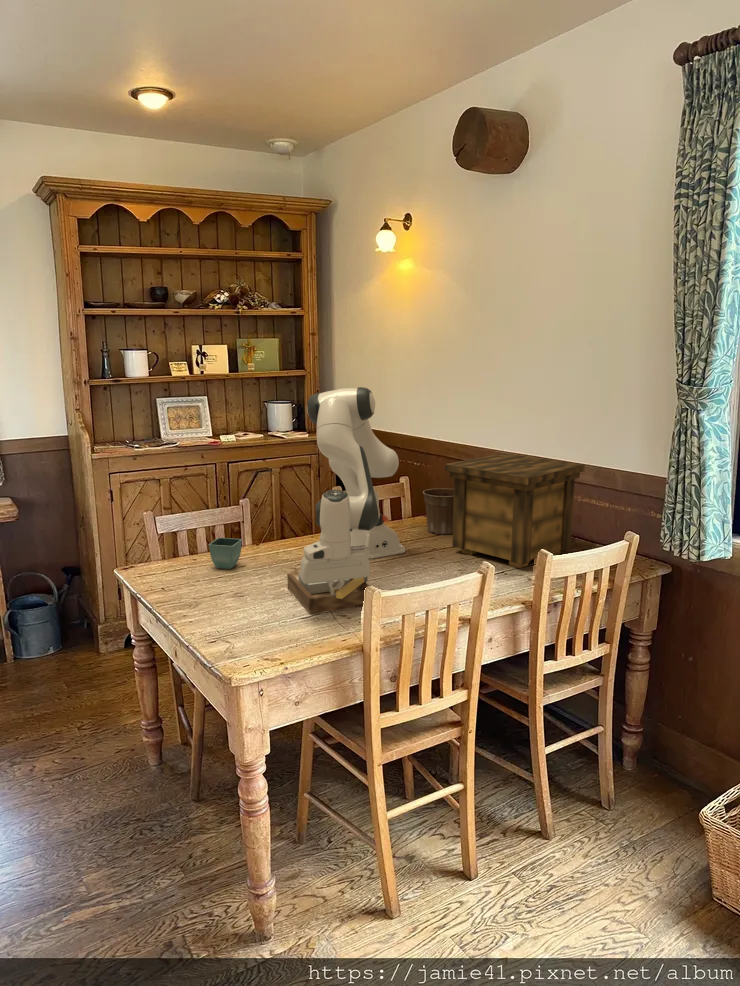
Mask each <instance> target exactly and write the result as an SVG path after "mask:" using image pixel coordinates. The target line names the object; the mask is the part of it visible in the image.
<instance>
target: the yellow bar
mask: <svg viewBox="0 0 740 986" xmlns="http://www.w3.org/2000/svg"><path fill="white" fill-rule="evenodd" d="M368 577H369V576H368ZM368 577H363V578H355V579H353V580H352V581H351V582H349V583H348V584H347V585H345V586H344V587H342V588H341V589H340V590H338V591H337V592H336V598H339V599H343V598H344V597H345V596H347V595H348V594H349V593H350V592H352V591H353V590H354V589H356V588H357V587H358V586H360V585H361V584H362V583H364V582H366V583H367V582H368Z"/></svg>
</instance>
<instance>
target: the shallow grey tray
mask: <svg viewBox="0 0 740 986" xmlns="http://www.w3.org/2000/svg"><path fill="white" fill-rule="evenodd" d="M298 581H299V582H300V583H301V584H302V585H303V586H304V587H305V588H306V590H307V591H308V592H309V593H310V594H315V593H322V592H330V587H329V586H328V584H327V582H320V583H311V584H305V583H304V582H302V580H301V579H300V573H298ZM338 583H339V582H338V580H337V581H333V584H331V585H332V586H333V588H334V587H337V585H338ZM348 583H349V579H346V580H344V585H343V586H342V587H344V586H345V585H347V584H348Z"/></svg>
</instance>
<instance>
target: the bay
mask: <svg viewBox="0 0 740 986" xmlns="http://www.w3.org/2000/svg"><path fill="white" fill-rule="evenodd" d="M354 579H355V578H354ZM352 580H353V579H349V582H351V581H352ZM367 586H370V585H369V584H368V583H367V581H366V582H364V583H362V584H361V585H360V586H358V587H357V588H356V589H354V590H353V591H352V592H350V593H349V594H348V595H347V596H345V597H344V598H343V599H339V598H336V595H331V593H330V592H322V593H315V594H310V593H309V592H308V591H307V590H306V588H305V587H304V586H303V585H302V584H301V583H300V582H299V579H297V577H296V576H295V575H294V574H293V573H287V588H288V590H289V591H290V593H292V595H293V596H294V597H295V598H296V600H297V601H298V602H299V603H300V604H301V606H302V607H303V608H304V609H305V611H307V613H308V614H309V615H312V614H314V615H315V614H322V613H327V612H336V611H342V610H350V609H357V608H364V607H363V601H364V590H365V588H366V587H367Z"/></svg>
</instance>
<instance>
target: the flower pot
mask: <svg viewBox="0 0 740 986" xmlns="http://www.w3.org/2000/svg"><path fill="white" fill-rule="evenodd" d="M242 542H243V539H242V538H229V537H217V538H216V539H214V540H213V541H212V542H210V543H209V544H208V549H209V553H210V559H211V561H212V563H213V565H214V566H215V568H216V569H225V570H232V569H233V568H234V567H235V566H236V565H237V564H238V562H239V559H240V557H241V554H242V553H241V552H242Z"/></svg>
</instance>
